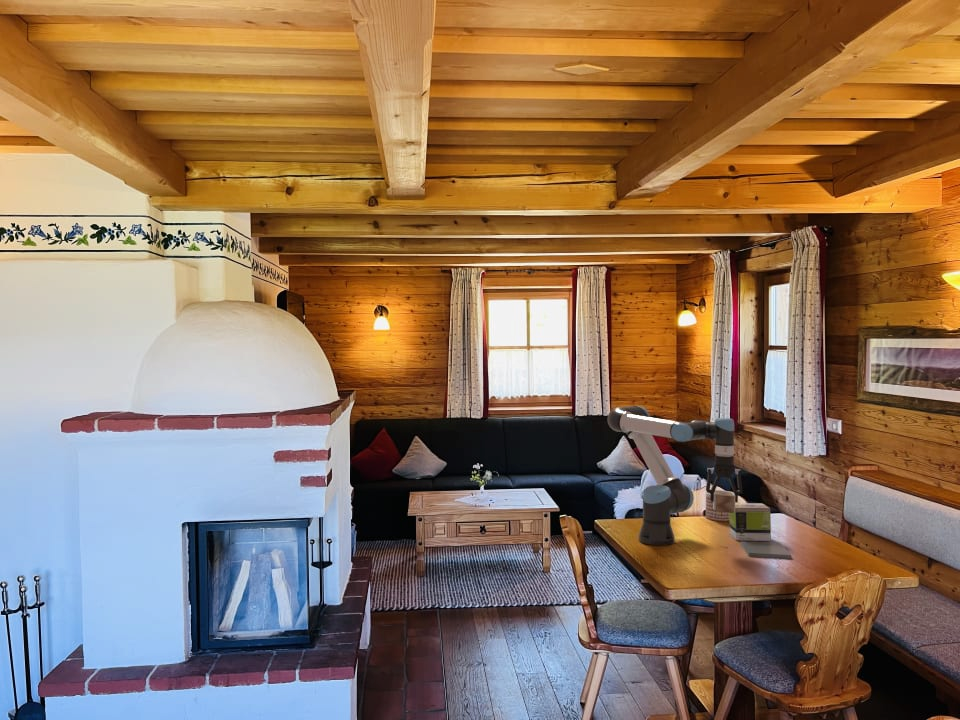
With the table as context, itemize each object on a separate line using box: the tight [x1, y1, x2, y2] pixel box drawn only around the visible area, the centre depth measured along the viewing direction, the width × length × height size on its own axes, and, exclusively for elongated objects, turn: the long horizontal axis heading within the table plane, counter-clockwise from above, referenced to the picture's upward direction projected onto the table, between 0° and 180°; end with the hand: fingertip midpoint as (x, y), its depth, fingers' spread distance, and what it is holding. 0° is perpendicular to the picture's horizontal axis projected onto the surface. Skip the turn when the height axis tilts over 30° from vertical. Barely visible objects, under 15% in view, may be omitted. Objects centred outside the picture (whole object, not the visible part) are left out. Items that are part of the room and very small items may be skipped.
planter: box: [705, 489, 734, 523], centre depth 324 cm, size 14×14×13 cm
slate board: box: [740, 541, 792, 560], centre depth 269 cm, size 16×16×2 cm
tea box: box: [729, 502, 772, 542], centre depth 289 cm, size 15×10×15 cm
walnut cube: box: [714, 491, 734, 513], centre depth 273 cm, size 7×7×7 cm
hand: (723, 509), depth 273 cm, fingers closed on walnut cube, 7 cm apart
